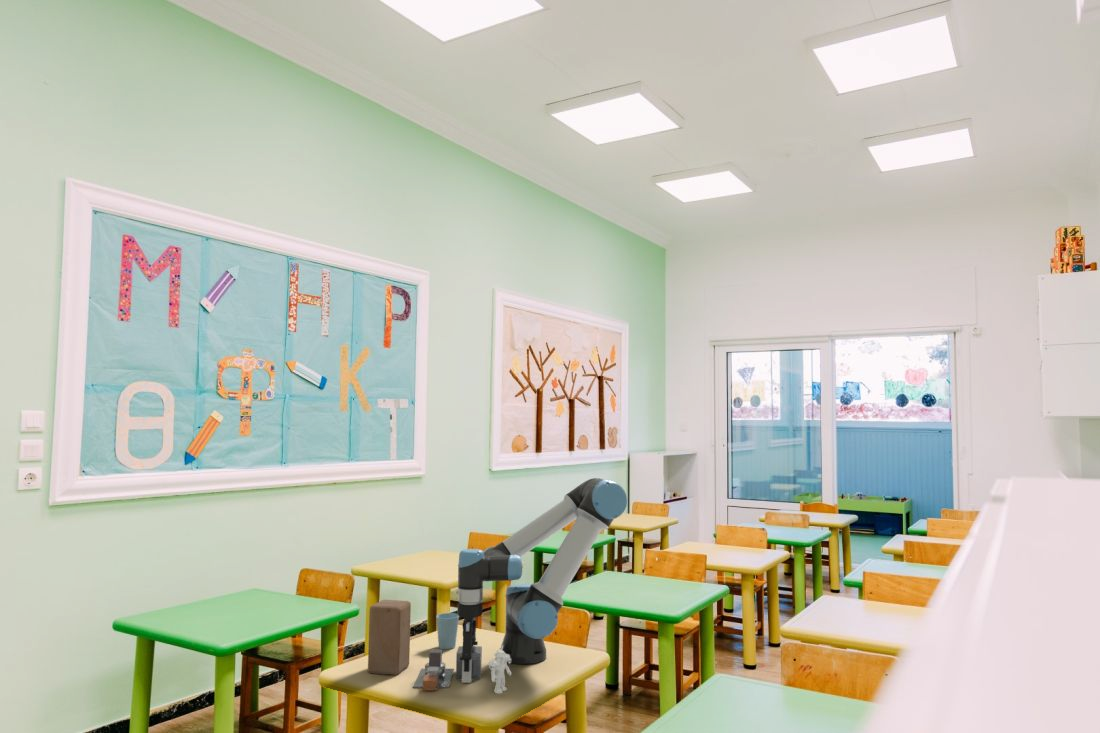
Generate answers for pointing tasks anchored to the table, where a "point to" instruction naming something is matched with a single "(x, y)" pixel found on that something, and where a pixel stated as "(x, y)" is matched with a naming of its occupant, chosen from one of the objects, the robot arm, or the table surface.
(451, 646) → the cup
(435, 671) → the lever
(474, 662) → the grey metal cube
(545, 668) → the table surface
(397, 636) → the wooden block
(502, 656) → the hat wearing toy figure
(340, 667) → the table surface
